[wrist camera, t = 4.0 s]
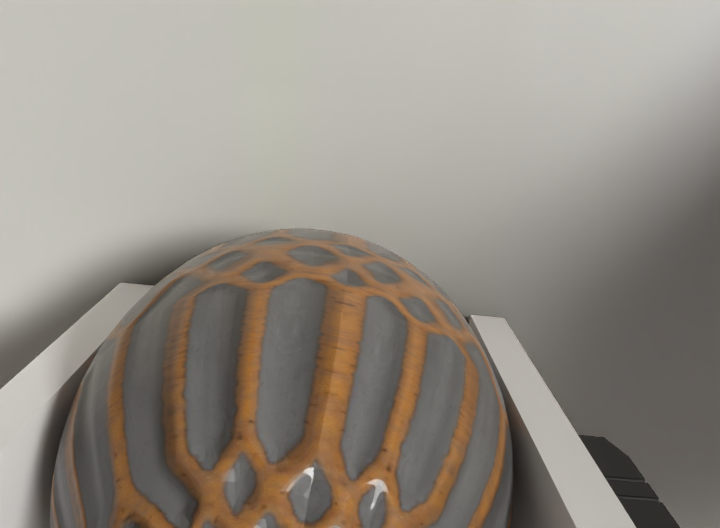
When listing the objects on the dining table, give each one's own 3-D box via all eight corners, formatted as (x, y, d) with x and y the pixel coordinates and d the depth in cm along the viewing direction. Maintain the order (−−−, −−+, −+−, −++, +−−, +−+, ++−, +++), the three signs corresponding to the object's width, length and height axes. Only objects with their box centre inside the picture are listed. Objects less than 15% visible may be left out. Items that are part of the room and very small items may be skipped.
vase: (142, 443, 14) (-177, 1007, 5) (177, 161, 12) (-256, 381, 3) (419, 493, 14) (514, 1073, 6) (501, 233, 12) (818, 572, 4)
